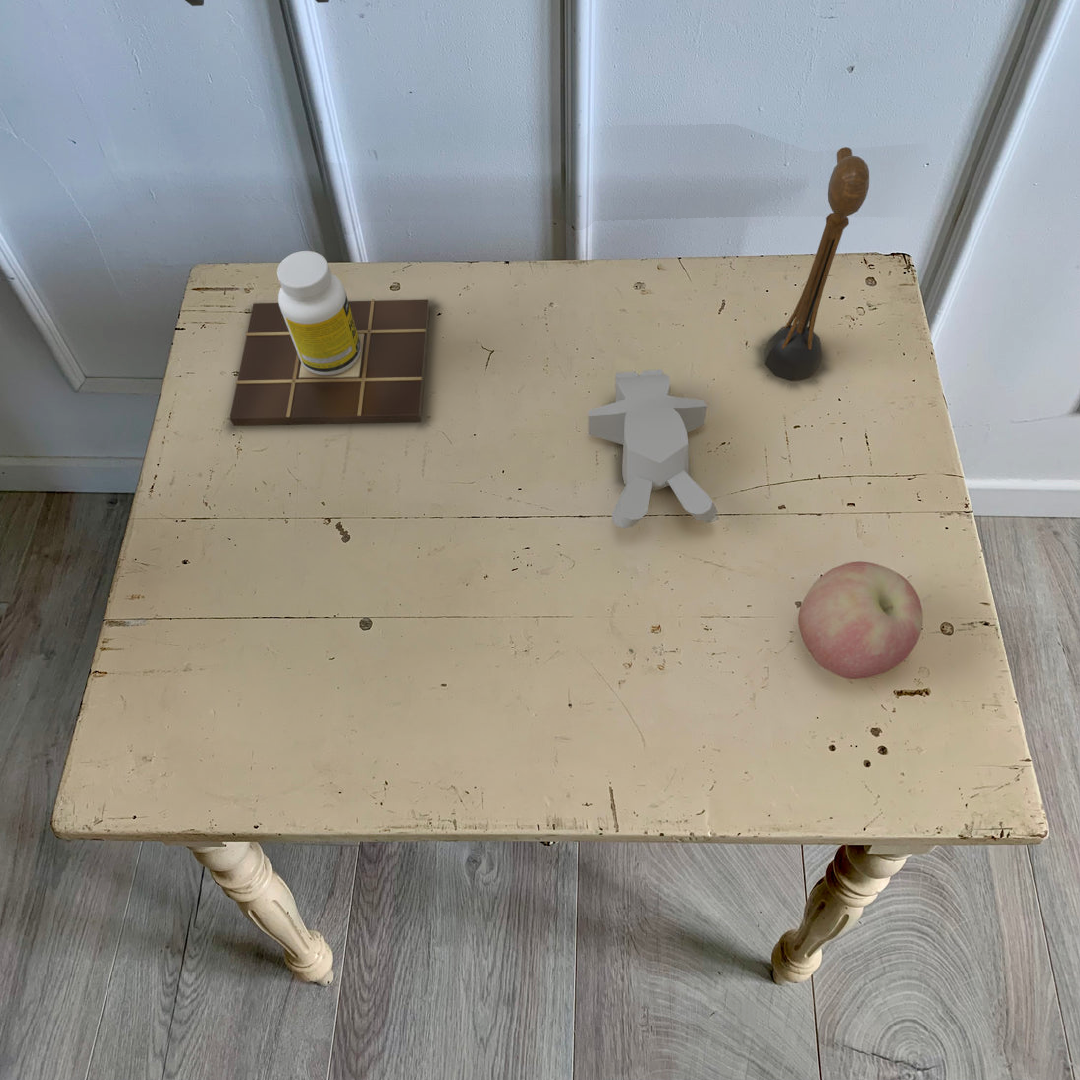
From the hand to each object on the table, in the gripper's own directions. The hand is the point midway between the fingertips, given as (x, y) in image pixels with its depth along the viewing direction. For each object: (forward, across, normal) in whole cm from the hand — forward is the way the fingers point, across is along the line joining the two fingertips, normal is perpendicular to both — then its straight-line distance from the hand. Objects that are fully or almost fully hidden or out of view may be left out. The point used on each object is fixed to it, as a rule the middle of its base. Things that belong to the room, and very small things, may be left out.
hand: (257, 1), depth 59 cm
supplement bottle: (+24, 0, +12) cm, 27 cm away
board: (+25, 0, +13) cm, 28 cm away
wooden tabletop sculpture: (+25, +40, +13) cm, 49 cm away
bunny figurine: (+33, +27, +5) cm, 43 cm away
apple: (+44, +40, -6) cm, 60 cm away
